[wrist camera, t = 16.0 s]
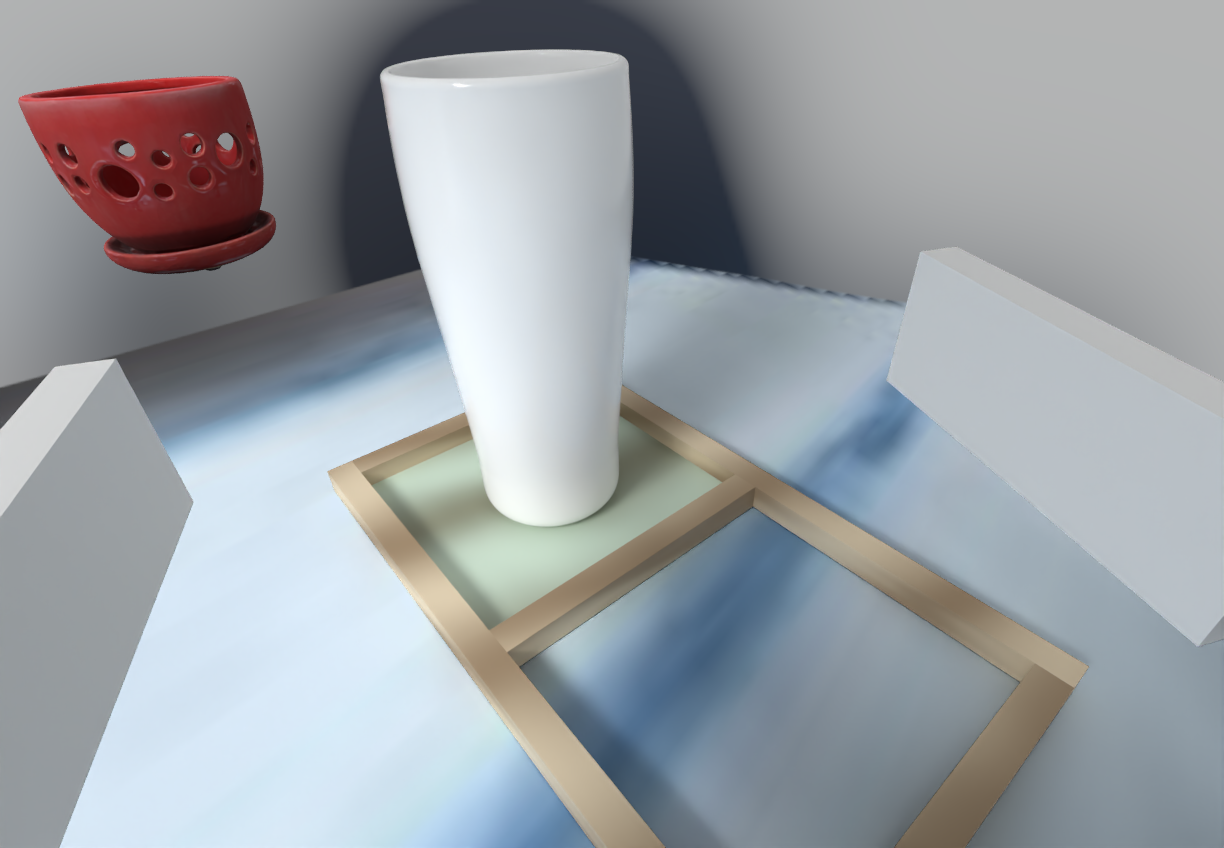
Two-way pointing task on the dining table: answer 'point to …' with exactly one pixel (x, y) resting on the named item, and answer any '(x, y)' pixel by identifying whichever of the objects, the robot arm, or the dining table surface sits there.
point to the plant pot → (159, 168)
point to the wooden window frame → (630, 554)
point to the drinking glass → (525, 258)
